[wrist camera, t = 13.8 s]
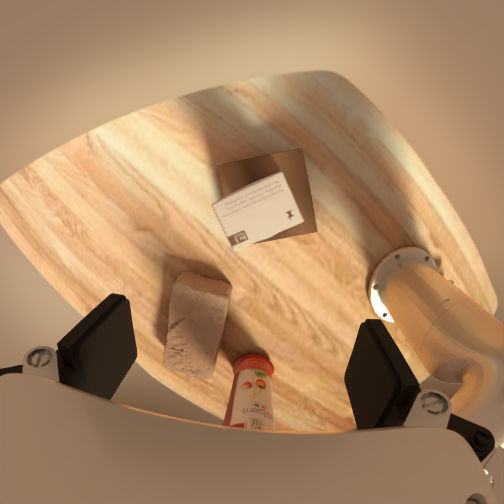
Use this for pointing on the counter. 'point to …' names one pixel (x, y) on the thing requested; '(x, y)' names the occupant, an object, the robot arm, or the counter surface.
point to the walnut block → (263, 166)
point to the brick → (195, 324)
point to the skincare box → (258, 211)
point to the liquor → (251, 394)
